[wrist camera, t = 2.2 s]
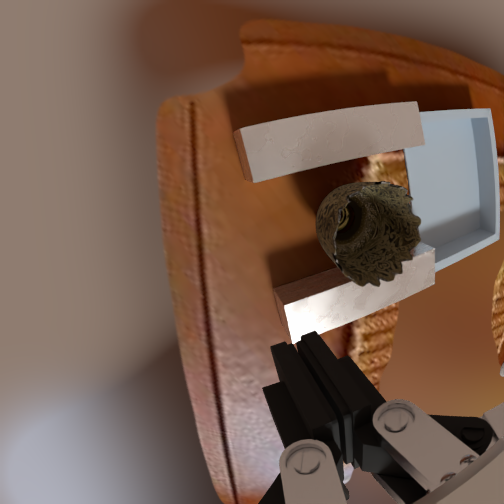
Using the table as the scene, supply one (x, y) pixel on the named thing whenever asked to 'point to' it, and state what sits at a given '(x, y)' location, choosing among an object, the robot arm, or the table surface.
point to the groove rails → (323, 153)
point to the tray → (455, 183)
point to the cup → (368, 230)
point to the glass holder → (502, 370)
